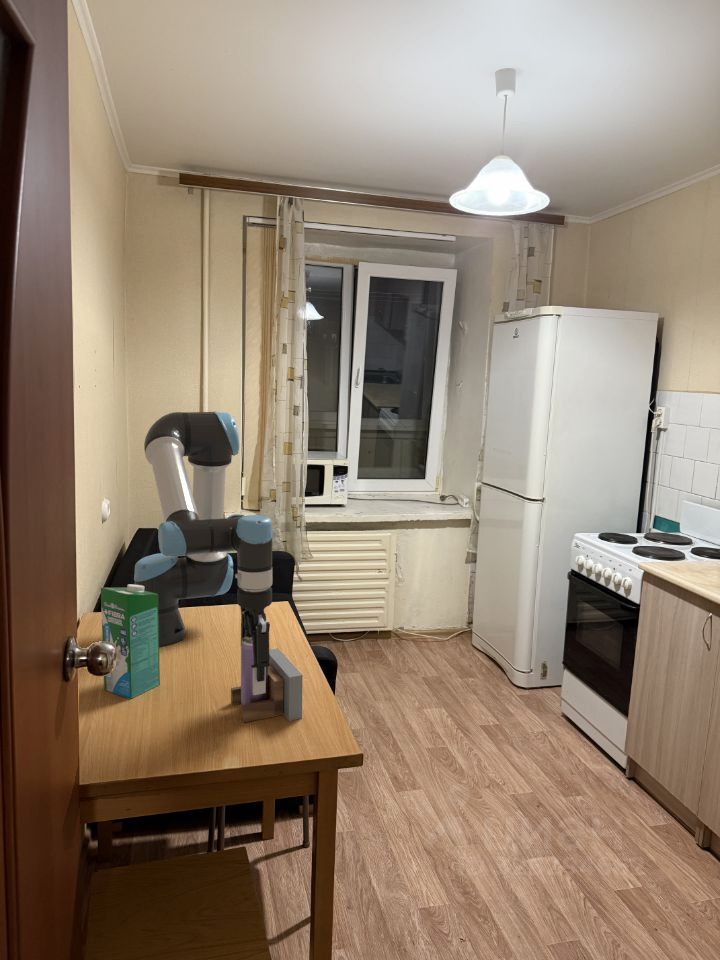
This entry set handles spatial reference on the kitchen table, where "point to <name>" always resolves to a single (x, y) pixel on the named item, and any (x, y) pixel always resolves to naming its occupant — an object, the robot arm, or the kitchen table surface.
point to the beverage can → (249, 674)
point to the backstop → (288, 684)
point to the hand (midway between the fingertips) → (254, 686)
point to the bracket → (262, 707)
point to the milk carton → (131, 639)
